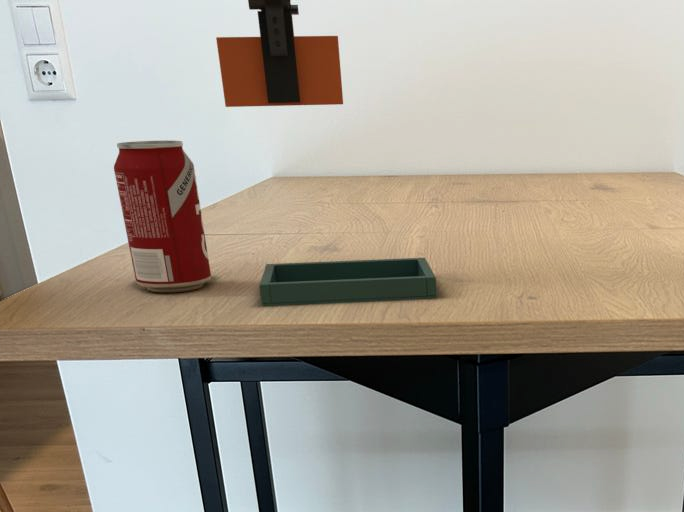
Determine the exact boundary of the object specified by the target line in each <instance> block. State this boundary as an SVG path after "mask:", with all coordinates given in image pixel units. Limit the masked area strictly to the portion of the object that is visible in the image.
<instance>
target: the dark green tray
mask: <svg viewBox="0 0 684 512" xmlns="http://www.w3.org/2000/svg"><path fill="white" fill-rule="evenodd" d="M258 286H259V293H260V302H261V306H262V307H279V306H281V307H282V306H299V305H300V306H301V305H322V304H324V305H325V304H346V303H366V302H367V303H368V302H387V301H389V302H390V301H408V300H409V301H410V300H412V301H413V300H431V299H433V300H434V299H437V277H436V275H435V273H434V272H433V270H432V268H431V266H430V264H429V262H428V261H427V259H426V257H405V258H381V259H358V260H357V259H356V260H355V259H354V260H335V261H334V260H333V261H307V262H289V263H288V262H284V263H281V262H280V263H266V264H265V267H264V270H263V273H262V277H261V279H260V282H259V285H258Z"/></svg>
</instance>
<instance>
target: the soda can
mask: <svg viewBox="0 0 684 512" xmlns="http://www.w3.org/2000/svg"><path fill="white" fill-rule="evenodd" d="M116 147H117V148H118V154H117V157H116V159H115V163H114V164H113V172H114V177H115V182H116V187H117V191H118V196H119V202H120V207H121V212H122V218H123V222H124V227H125V234H126V237H127V243H128V247H129V252H130V257H131V262H132V268H133V273H134V278H135V283H136V284H137V285H138V286H141V287H144V288H146V290H148V291H149V292H153V293H161V294H162V293H163V294H164V293H165V294H167V293H168V294H170V293H171V294H172V293H183V292H190V291H195V290H198V289H201V288H202V287H204V284H205V283H207V282H209V281H210V280H211V279H212V273H211V267H210V261H209V255H208V254H209V253H208V248H207V242H206V241H207V240H206V233H205V228H204V223H203V214H202V209H201V208H202V207H201V203H200V195H199V190H198V184H197V177H196V170H195V164H194V163H193V161H192V160H191V158H190V157H189V155H187V153H186V151H185V150H184V148H183V147H184V142H183V141H182V140H138V141H137V140H136V141H124V142H117V143H116Z"/></svg>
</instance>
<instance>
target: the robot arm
mask: <svg viewBox="0 0 684 512" xmlns="http://www.w3.org/2000/svg"><path fill="white" fill-rule="evenodd" d="M247 2H248V10H250V11H251V10H257V19H258V28H259V37H261V46H262V54H263V63H264V71H265V80H266V89H267V97H268V103H293V102H300V94H299V84H298V74H297V64H296V54H295V45H294V36H295V32H294V21H293V16H295V15H296V16H299V15H300V14H299V4H292V3H291V2H292V1H291V0H247Z"/></svg>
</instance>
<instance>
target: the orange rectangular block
mask: <svg viewBox="0 0 684 512" xmlns="http://www.w3.org/2000/svg"><path fill="white" fill-rule="evenodd" d="M215 39H216V46H217V54H218V61H219V68H220V77H221V83H222V91H223V98H224V105H225V106H224V107H225V108H235V107H236V108H239V107H241V108H242V107H285V106H286V107H287V106H288V107H290V106H291V107H292V106H333V105H335V106H336V105H344V96H343V83H342V71H341V70H342V69H341V57H340V46H339V36H338V35H294V45H295V54H296V64H297V74H298V84H299V94H300V102H293V103H268V97H267V89H266V80H265V71H264V63H263V54H262V46H261V37H260V36H220V37H219V36H216V38H215Z"/></svg>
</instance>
